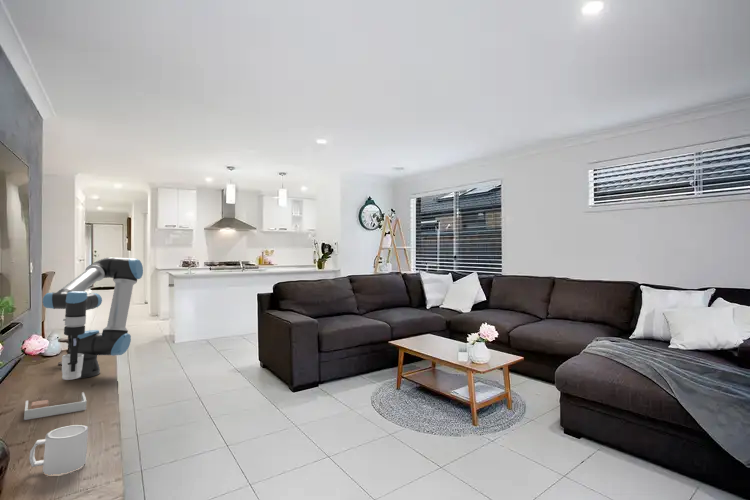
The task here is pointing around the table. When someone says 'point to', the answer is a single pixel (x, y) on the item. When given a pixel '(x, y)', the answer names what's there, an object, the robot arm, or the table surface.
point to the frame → (55, 409)
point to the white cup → (66, 367)
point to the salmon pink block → (39, 404)
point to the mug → (62, 449)
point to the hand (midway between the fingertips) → (71, 375)
